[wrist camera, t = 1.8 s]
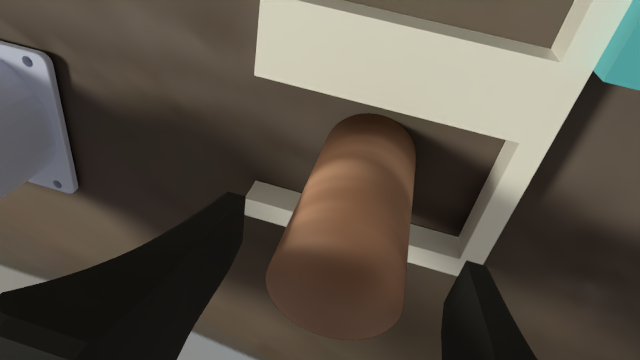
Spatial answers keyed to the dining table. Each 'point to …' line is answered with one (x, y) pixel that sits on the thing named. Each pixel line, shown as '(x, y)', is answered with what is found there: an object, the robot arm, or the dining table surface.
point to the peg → (349, 234)
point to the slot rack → (447, 92)
